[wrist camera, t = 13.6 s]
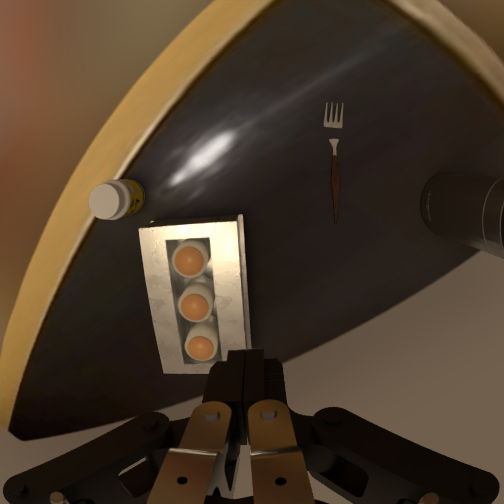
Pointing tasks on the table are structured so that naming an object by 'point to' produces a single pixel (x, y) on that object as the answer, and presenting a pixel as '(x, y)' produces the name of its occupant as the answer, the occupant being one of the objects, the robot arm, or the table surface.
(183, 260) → the knob
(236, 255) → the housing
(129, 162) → the table surface
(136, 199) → the supplement bottle
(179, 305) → the knob
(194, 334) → the knob
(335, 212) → the fork
